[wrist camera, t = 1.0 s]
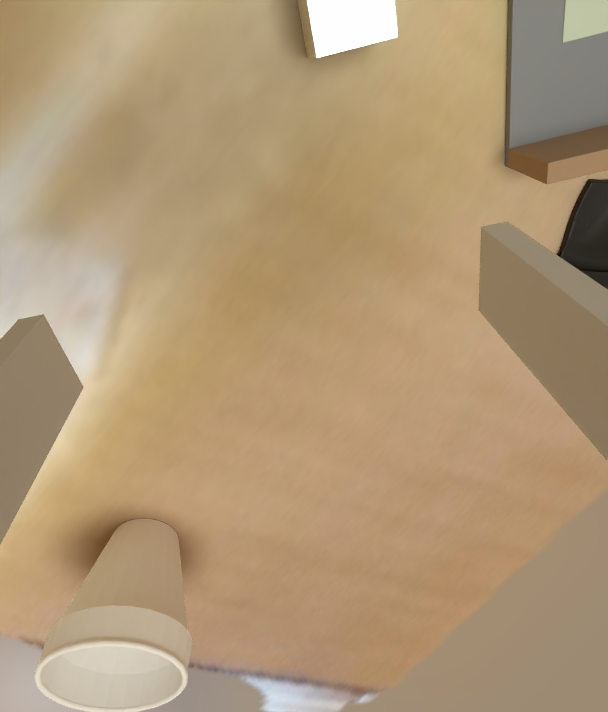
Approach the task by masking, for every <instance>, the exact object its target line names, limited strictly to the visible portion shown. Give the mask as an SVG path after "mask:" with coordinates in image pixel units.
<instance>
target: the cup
mask: <svg viewBox="0 0 608 712" xmlns="http://www.w3.org/2000/svg"><path fill="white" fill-rule="evenodd" d="M191 647H192V639H191V636H190V633H189V631H188V629H187V619H186V609H185V598H184V588H183V578H182V568H181V558H180V548H179V538H178V535H177V533H176V532H175V530H174V529H173V528H172V527H170V526H169V525H168V524H165V523H163V522H161V521H158V520H153V519H134V520H130V521H127V522H125V523H123V524H121V525H120V526H119V527H118V528H117V529H116V530H115V531H114V533H113V535H112V536H111V538H110V539H109V541H108V543H107V544H106V546H105V548H104V549H103V551H102V553H101V554H100V556H99V557H98V559H97V561H96V562H95V564H94V566H93V567H92V569H91V570H90V572H89V574H88V575H87V577H86V579H85V580H84V582H83V583H82V585H81V587H80V588H79V590H78V592H77V593H76V595H75V596H74V598H73V600H72V601H71V603H70V605H69V606H68V608H67V610H66V611H65V613H64V614H63V616H62V618H61V619H60V620H59V621H57V622H56V623H55V624H54V625H53V626H52V627H51V628H50V631H49V633H48V636H47V638H46V642H45V645H44V649H43V652H42V655H41V659H40V662H39V663H38V665H37V668H36V670H35V672H34V678H35V683H36V686H37V687H38V688H39V689H40V691H41V692H42V693H43V694H44V695H45V696H47V697H49V698H50V699H51V700H53V701H54V702H57V703H59V704H62V705H64V706H67V707H70V708H74V709H78V710H83V711H89V712H137V711H143V710H147V709H151V708H155V707H158V706H160V705H162V704H165V703H167V702H169V701H171V700H172V699H174V698H175V697H177V696H178V695H179V694H180V693H181V692H182V690H183V689H184V688H185V686H186V684H187V678H188V673H187V670H188V664H189V659H190V653H191Z"/></svg>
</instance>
